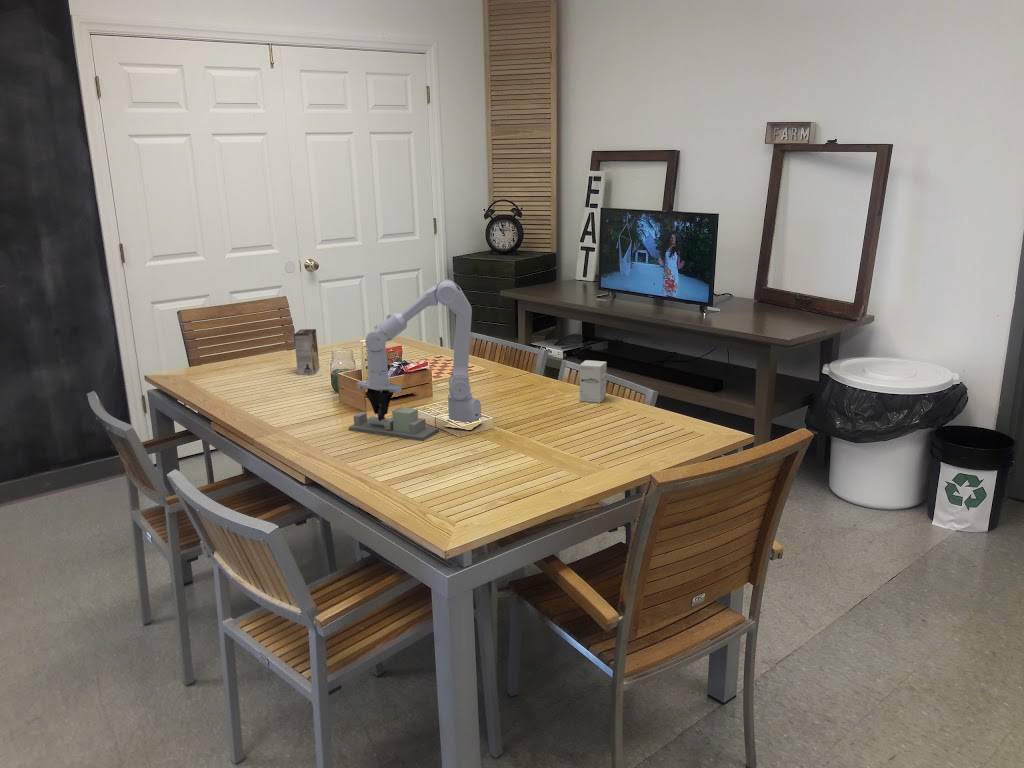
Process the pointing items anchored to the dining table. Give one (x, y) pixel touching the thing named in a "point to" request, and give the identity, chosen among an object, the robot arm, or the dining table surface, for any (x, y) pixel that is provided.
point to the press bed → (415, 429)
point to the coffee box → (306, 351)
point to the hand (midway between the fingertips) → (381, 413)
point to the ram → (381, 420)
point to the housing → (403, 418)
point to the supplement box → (592, 381)
